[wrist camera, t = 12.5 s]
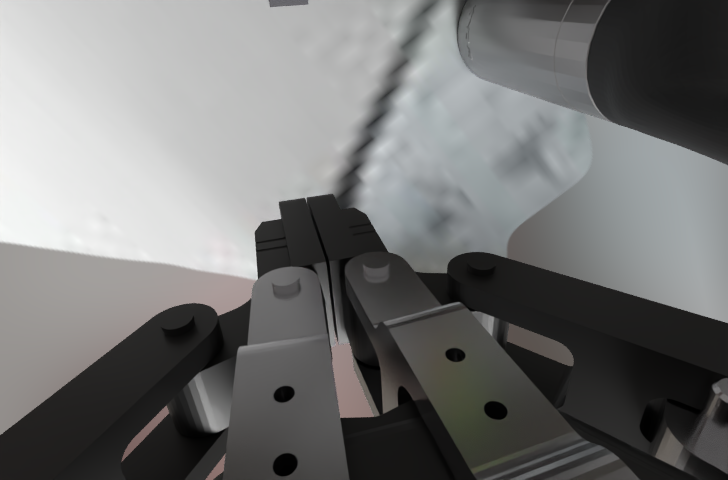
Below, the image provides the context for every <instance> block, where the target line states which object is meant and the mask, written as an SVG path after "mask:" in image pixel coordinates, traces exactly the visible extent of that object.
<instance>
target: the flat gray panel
mask: <svg viewBox="0 0 728 480" xmlns="http://www.w3.org/2000/svg"><path fill="white" fill-rule="evenodd" d="M269 1H270V7H277V6H291V5H306V4H308V0H269Z"/></svg>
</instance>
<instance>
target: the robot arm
mask: <svg viewBox="0 0 728 480" xmlns="http://www.w3.org/2000/svg"><path fill="white" fill-rule="evenodd" d="M458 45H459V49H460V53H461V56H462V58H463V60H464V62H465V64H466V66H467V67H468V68H469V69H470V71H471V72H472V73H474V74H475V75H476V76H478V77H479V78H481V79H484V80H486V81H489V82H492V83H495V84H498V85H501V86H503V87H506V88H509V89H512V90H515V91H518V92H521V93H524V94H527V95H530V96H533V97H536V98H539V99H542V100H545V101H548V102H551V103H554V104H557V105H560V106H563V107H566V108H569V109H572V110H575V111H578V112H581V113H585V114H588V115H591V116H594V117H597V118H600V119H603V120H607V121H609V122H612V123H616V124H618V125H621V126H625V127H628V128H631V129H634V130H637V131H639V132H642V133H645V134H647V135H650V136H653V137H656V138H659V139H662V140H665V141H668V142H671V143H673V144H677V145H679V146H682V147H685V148H687V149H690V150H692V151H695V152H697V153H700V154H702V155H705V156H707V157H710V158H712V159H715V160H717V161H720V162H722V163H724V164H727V165H728V0H467V2H466V4H465V6H464V8H463V11H462V14H461V17H460V20H459V28H458ZM279 208H280V214H281V219H279V220H272V221H266V222H262V223H261V224H260V226H259V227H258V228H257V230H256V231H255V242H256V256H257V271H258V280H257V281H256V282H255V283H254V285H253V289H252V298H251V299H250V300H249V301H248V302H246V303H245V304H244V305H242V306H240V307H238V308H237V309H234V310H232V311H230V312H227V313H225V314H222V315H220V316H218V315H217V313H216V312H215V310H214V309H213V308H211V307H210V306H207V305H204V304H196V303H192V304H183V305H179V306H176V307H172V308H169V309H167V310H165V311H163V312H161V313H159V314H157V315H156V316H154V317H153V318H152V319H150V320H149V321H148V322H146V323H145V324H144V325H142V326H141V327H140V328H139V329H137V330H136V331H135V332H133V333H132V334H131V335H129V336H128V337H127V338H126V339H124V340H123V341H122V342H120V343H119V344H118V345H117V346H115V347H114V348H113V349H111V350H110V351H109V352H107V353H106V354H105V355H104V356H103V357H101V358H100V359H98V360H97V361H96V362H95V363H93V364H92V365H91V366H89V367H88V368H87V369H85V370H84V371H83V372H82V373H80V374H79V375H78V376H77V377H75V378H74V379H73V380H71V381H70V382H69V383H67V384H66V385H65V386H63V387H62V388H61V389H60V390H58V391H57V392H56V393H54V394H53V395H52V396H51V397H50V398H48V399H47V400H45V401H44V402H43V403H41V404H40V405H39V406H38V407H36V408H35V409H34V410H32V411H31V412H30V413H29V414H27V415H26V416H25V417H23V418H22V419H21V420H20V421H18V422H17V423H16V424H14V425H13V426H12V427H11V428H9V429H8V430H7V431H5V432H4V433H3V434H1V435H0V480H205V479H206V478H207V476H208V475H209V474H210V473H211V471H212V470H213V468H214V467H215V466H216V465H217V463H218V462H219V461H220V460H221V458H222V457H223V456H224V454H225V453H226V455H225V464H224V472H222V473H221V474H220V475H218V476H217V477H216V478H215V479H214V480H728V323H725V322H722V321H718V320H715V319H711V318H708V317H705V316H701V315H698V314H694V313H691V312H688V311H684V310H681V309H677V308H674V307H671V306H667V305H664V304H660V303H657V302H654V301H650V300H647V299H644V298H640V297H637V296H633V295H630V294H627V293H623V292H620V291H617V290H613V289H610V288H606V287H603V286H600V285H596V284H593V283H589V282H586V281H583V280H579V279H576V278H572V277H569V276H566V275H562V274H559V273H555V272H552V271H549V270H545V269H541V268H538V267H535V266H532V265H528V264H525V263H522V262H518V261H515V260H511V259H508V258H505V257H501V256H498V255H494V254H490V253H484V252H471V253H465V254H461V255H458V256H456V257H454V258H453V259H452V260H451V261H450V262H449V264H448V267H447V273H420V272H414V270H413V269H412V268H411V267H410V265H409V264H408V263H407V262H406V261H405V260H404V259H403V258H402V257H400V256H398V255H396V254H393V253H389V252H388V251H387V249H386V247H385V246H384V244H383V242H382V241H381V239H380V237H379V235H378V234H377V232H376V231H375V229H374V227H373V225H371V222H370V220H369V219H368V217H367V215H366V214H365V213H363V212H361V211H359V210H357V209H356V208H348V209H342V210H341V209H340V207H339V205H338V203H337V201H336V199H335V197H334V195H333V194H328V195H321V196H314V197H307V203H306V200H305V198H301V199H295V200H288V201H281V202H279ZM509 323H511V324H514V325H516V326H519V327H521V328H524V329H527V330H529V331H532V332H535V333H537V334H540V335H543V336H545V337H548V338H551V339H553V340H556V341H558V342H560V343H562V344H564V345H565V346H566V347H567V348H568V349H569V350H570V352H571V353H572V355H573V358H574V365H573V366H567V365H564V364H562V363H559V362H557V361H554V360H552V359H549V358H546V357H544V356H542V355H539V354H537V353H534V352H532V351H529V350H527V349H524V348H522V347H519V346H517V345H515V344H512V343H510V342H507V336H508V328H509ZM334 331H335V334H336V337H337V341H338V344H339V345H342V344H347V343H350V346H351V349H352V357H353V367H354V371H355V373H356V375H357V378H358V380H359V382H360V385H361V387H362V389H363V392H364V394H365V397H366V399H367V401H368V404H369V406H370V408H371V411H372V413H373V415H374V417H363V418H362V417H361V418H340V413H339V406H338V400H337V393H336V386H335V379H334V372H333V365H332V352H331V347H333V346H336V342H335V334H334ZM166 405H167V408H168V410H169V414H168V415H167V416H166V417H165V418H164V419H163V420H162V421H161V422H160V423H159V424H158V425H157V426H156V427H155V428H154V430H152V432H151V433H150V434H149V435H148V436H147V437H146V438H145V439H144V440H143V441H142V442H141V443H140V444H139V445H138V446H137V447H136V448H135V449H134V450H133V451H132V452H131V453H130V454H129V455H128V456H127V457H126V458H125V459H124V460H123V461H122V462H121V460H122V457H123V454H124V452H125V449H126V448H127V446H128V444H129V443H130V442H131V440H132V439H133V438H134V437H135V436H136V435H137V434H138V433H139V432H140V431H141V430H142V429H143V428H144V427H145V426H146V425H147V424H148V423H149V422H150V421H151V420H152V419H153V418H154V417H155V416H156V415H157V414H158V413H159V412H160V411H161V410H162V409H163V408H164V407H165V406H166Z"/></svg>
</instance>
